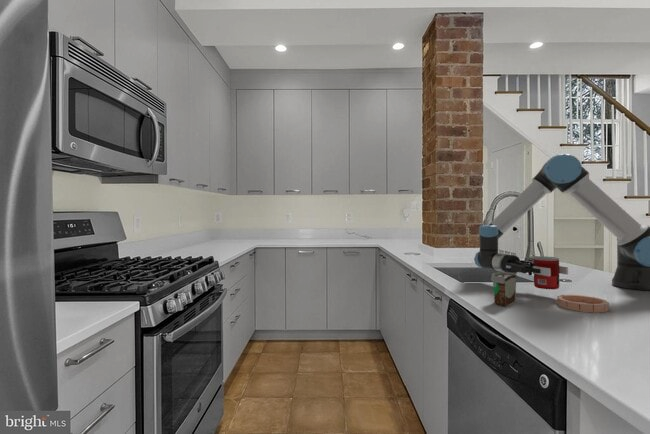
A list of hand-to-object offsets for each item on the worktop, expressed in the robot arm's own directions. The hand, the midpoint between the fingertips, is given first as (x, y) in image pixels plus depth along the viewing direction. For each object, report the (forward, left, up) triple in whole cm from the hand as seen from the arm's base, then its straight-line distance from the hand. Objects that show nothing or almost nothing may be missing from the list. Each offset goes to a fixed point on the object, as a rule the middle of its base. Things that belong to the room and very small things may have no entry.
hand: (558, 271), depth 127 cm
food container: (+22, +1, -10) cm, 24 cm away
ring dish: (-1, +9, -10) cm, 14 cm away
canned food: (+1, -5, -7) cm, 8 cm away
